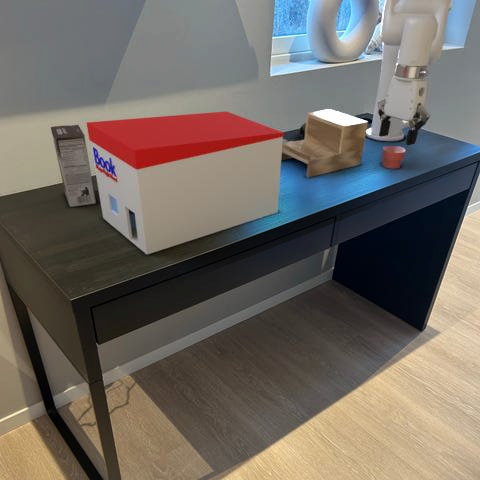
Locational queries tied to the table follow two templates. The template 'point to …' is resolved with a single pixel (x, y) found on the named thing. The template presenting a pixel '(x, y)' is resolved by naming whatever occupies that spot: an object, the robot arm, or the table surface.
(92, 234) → the table surface
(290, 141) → the soldier figure
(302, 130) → the fossilized seashell
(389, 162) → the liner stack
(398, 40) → the robot arm
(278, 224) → the table surface
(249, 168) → the bookstore
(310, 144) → the wooden step block
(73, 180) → the coffee box
